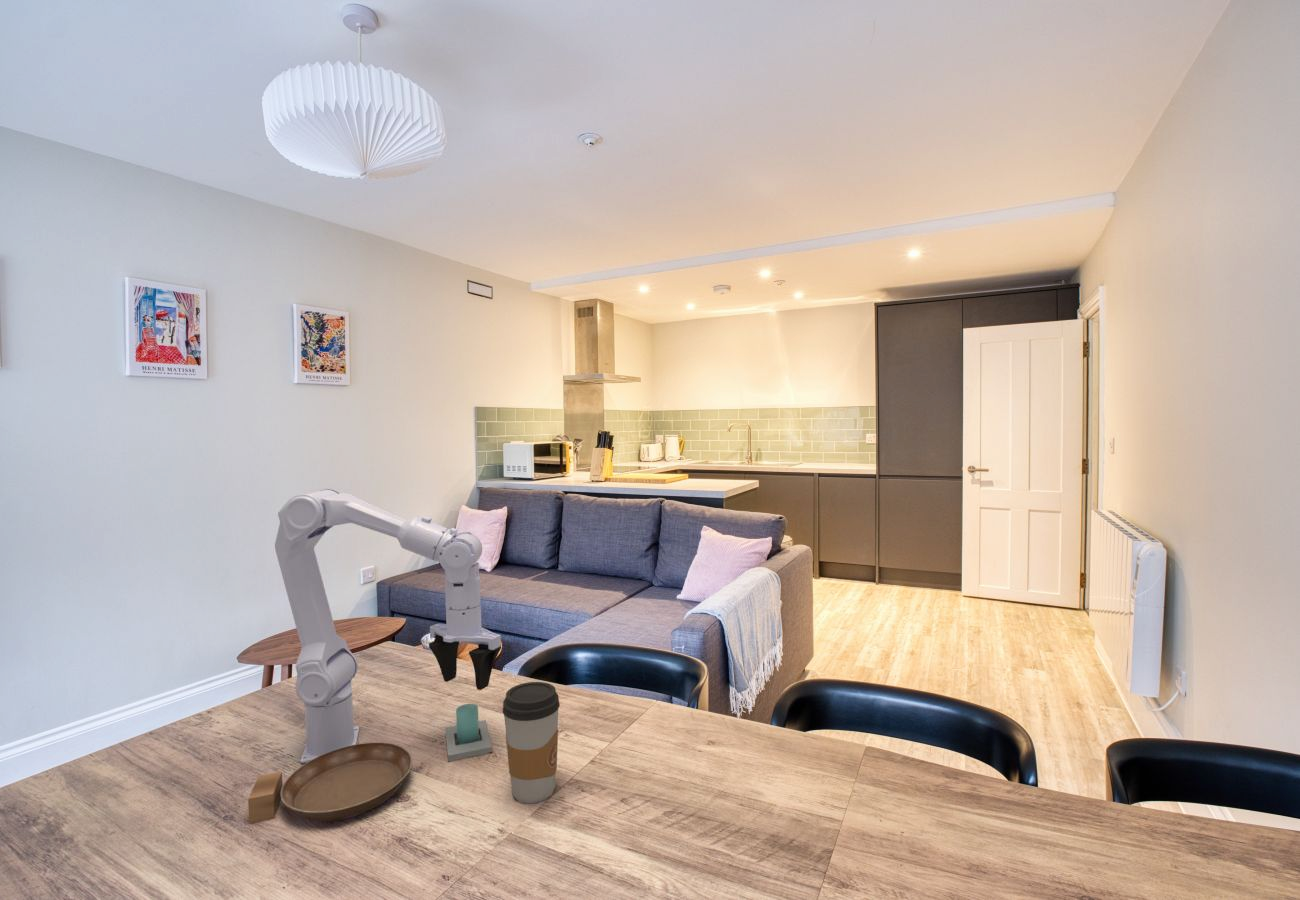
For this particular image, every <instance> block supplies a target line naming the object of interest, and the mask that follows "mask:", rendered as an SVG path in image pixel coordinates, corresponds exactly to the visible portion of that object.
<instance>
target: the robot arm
mask: <svg viewBox="0 0 1300 900" xmlns="http://www.w3.org/2000/svg"><path fill="white" fill-rule="evenodd" d="M277 517H278V519H279V525H278V529H277V534H276V538H275V543H274V549H275V554H276V557H277V561H278V564H279V567H280V572H281V576H282V579H283V584H284V587H285V591H286V596H287V598H288V602H289V606H290V609H291V612H292V613H291V614H292V617H293V620H294V625H295V628H296V632H297V636H298V639H299V643H300V646H301V650H300V651H299V652H300V653H299V654H298V657H297V661H296V662H295V663H296V664H295V670H296V681H295V688H294V689H295V693H296V696H297V697H298V698H299V700H300V701H301V702H302V703H303V704H304V705H303V706H304V715H305V717H304V719H305V721H304V723H305V738H306V739H305V741H306V744H305V747H304V749H303V750H304V751H303V752H302V754H301V755H302V756H301V759H300V764H306V763H307V762H309V761H311V760H312V759H314V758H316V757H318V756H321V755H323V754H325V753H328V752H330V751H333V750H336V749H339V748H343V747H347V746H351V745H356V744H358V738H359V732H360V726H359V725H354V724H355V723H354V703H353V699H354V698H353V687H352V680H353V679H354V678H355V676H356V675H357V672H358V670H359V663H358V662H359V661H358V660H357V658H356V656H355V655H354V654H353V653H352V651H351V650H350V648H349V646H348V642H347V640H345V639H344V638H343V637H341V636H339V635H338V633H337V630H336V627H335V623H334V619H333V615H332V612H331V608H330V604H329V600H328V597H327V596H328V595H327V593H326V589H325V586H324V581H323V578H322V574H321V571H320V566H319V563H318V559H317V555H316V552H315V551H316V550H315V547H316V546H317V544H318V543H319V541H320V540H321V539H322V537H323V536H324V535H325V533H326V532H327V531H329V530H330V529H331V528H333V527H334V526H341V525H346V524H354V525H356V526H360V527H362V528H364V529H365V528H366V529H369V530H372V531H373V532H376V533H377V532H378V533H379V534H383V535H386V536H389V537H392V538H395V539H396V540H397V541H398V543H399V546H400V548H402V549H403V550H406V551H409V552H411V553H414V554H416V555H419V556H420V557H421V556H422V557H424V558H426V559H429V560H431V561H434V562H437V563H438V562H439V564H440V566H441V567H442V569H443V570H444V575H445V576H444V577H445V579H444V589H445V590H444V591H445V594H444V595H445V618H446V619H445V620H446V624H445V623H437V624H433V625H431V626H429V638H433V641H431V642H429V643H428V648H429V650H430V651H431V652H432V654H433V655H434V657H435V659H436V662H437V663H438V666H439V670H440V673H441V675H442V678H443V681H444V682H446V683H448V682H450V681H452V680H454V679H456V677H457V670H458V669H457V668H458V666H457V665H458V663H457V662H458V659H457V657H458V650H459V645H460V642H461V643H465V644H471V645H476V646H477V647H475V648H474V649H472V650H469V651H468V655H469V658H470V659H471V662H472V665H473V670H474V676H475V677H474V678H475V679H474V680H475V687H476V690H478V691H481V690H483V689H485V688H488V687H489V683H490V679H491V675H492V670H493V667H494V665H495V661H496V659H497V657H498V655H499V653H500V652H501V649H502V640H501V639H502V638H501V634H497V633H495V632H492V631H490V630H488V629H486V628H485V627H483V626H482V605H481V604H482V603H481V600H482V599H481V598H482V597H481V576H480V562H478V561H479V560H480V559H481V556H482V553H483V546H482V545H483V544H482V542H481V540H480V539H479V537H478V536H476V535H475V534H473V533H471V532H470V531H461V532H459V533H458V529H457V528H455V527H452V528H450V529H449V528H447V527H445V526H443V525H440V524H437V523H434V522H432V518H431V517H429V516H427V515H424V516H422V517H419V516H415V517H412V518H410V519H404V518H402V517H400V516H399V515H396V514H393V513H391V512H389V511H386V510H384V509H383V508H380V507H377V506H376V505H373V504H371V503H369V502H366V501H364V500H362V499H360V498H359V497H356V496H354V495H353V494H350V493H347V492H340V491H339V490H337V489H334V488H323V489H321V490H318V491H313V492H308V493H300V494H295V495H294V496H291V497H290V498H289V499H288V500H287V501H286V502H285V504H284V505H283V506H282V507H281V509H280V510H279V511H278V512H277Z"/></svg>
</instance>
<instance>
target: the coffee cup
mask: <svg viewBox="0 0 1300 900" xmlns="http://www.w3.org/2000/svg"><path fill="white" fill-rule="evenodd" d="M559 698H560V697H559V694H558V693H557V690H556V687H555V685H553V684H551V683H549V682H548V683H547V682H545V681H544V682H542V681H531V682H524V683H519V684H516V685H515V686H513V687H511V688H509V689H508V690H507V691H506V693H505V698H504V700H503V701H502V704H503V705H502V707H503V708H502V714H503V715H504V717H503V718H504V726H505V727H504V729H505V741H506V751H507V752H506V753H507V754H506V755H507V762H508V770H509V772H508V773H509V775H510V786H511V793H512V794H513V796H514V799H515V800H517V802H520V803H524V804H536V803H539V802H543V801H544V800H547V799H549V798H550V797H551V796H552V794H553V792H554V790H555V789H556V778H557V767H558V764H557V763H558V741H559V738H558V737H559V729H558V728H559V727H558V725H559V723H558V722H559V708H560V699H559Z"/></svg>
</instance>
